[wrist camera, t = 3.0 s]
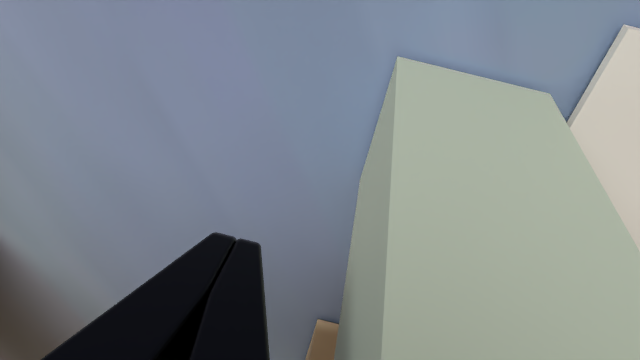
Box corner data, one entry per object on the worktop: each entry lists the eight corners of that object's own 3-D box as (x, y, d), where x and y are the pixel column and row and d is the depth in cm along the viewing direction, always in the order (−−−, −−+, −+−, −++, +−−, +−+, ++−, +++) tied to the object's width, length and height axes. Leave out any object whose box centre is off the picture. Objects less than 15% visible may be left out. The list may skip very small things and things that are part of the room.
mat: (392, 423, 22) (392, 429, 22) (623, 24, 11) (628, 28, 11) (612, 479, 22) (614, 486, 22) (1076, 135, 11) (1091, 141, 10)
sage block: (360, 179, 14) (311, 515, 7) (397, 56, 12) (380, 372, 5) (487, 210, 14) (567, 581, 7) (549, 93, 12) (763, 469, 5)
